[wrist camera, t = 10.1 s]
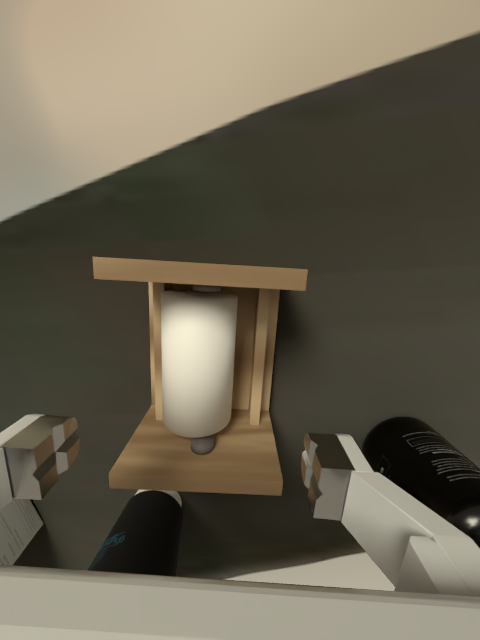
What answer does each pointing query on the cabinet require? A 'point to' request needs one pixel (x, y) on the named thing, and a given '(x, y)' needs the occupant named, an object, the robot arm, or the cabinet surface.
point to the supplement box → (17, 529)
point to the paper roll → (197, 360)
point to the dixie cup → (144, 536)
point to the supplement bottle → (427, 470)
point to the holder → (247, 395)
